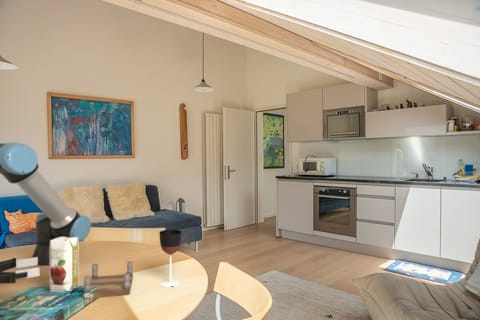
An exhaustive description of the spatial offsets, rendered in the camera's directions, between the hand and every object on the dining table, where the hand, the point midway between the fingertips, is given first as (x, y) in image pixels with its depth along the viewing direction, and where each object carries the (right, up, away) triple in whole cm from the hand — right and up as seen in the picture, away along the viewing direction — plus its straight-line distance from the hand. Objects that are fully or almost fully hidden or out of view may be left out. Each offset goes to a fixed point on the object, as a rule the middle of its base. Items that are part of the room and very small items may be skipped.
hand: (38, 265), depth 114 cm
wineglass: (+44, -11, +11) cm, 47 cm away
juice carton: (+6, -11, +5) cm, 13 cm away
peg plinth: (+22, -10, +7) cm, 26 cm away
